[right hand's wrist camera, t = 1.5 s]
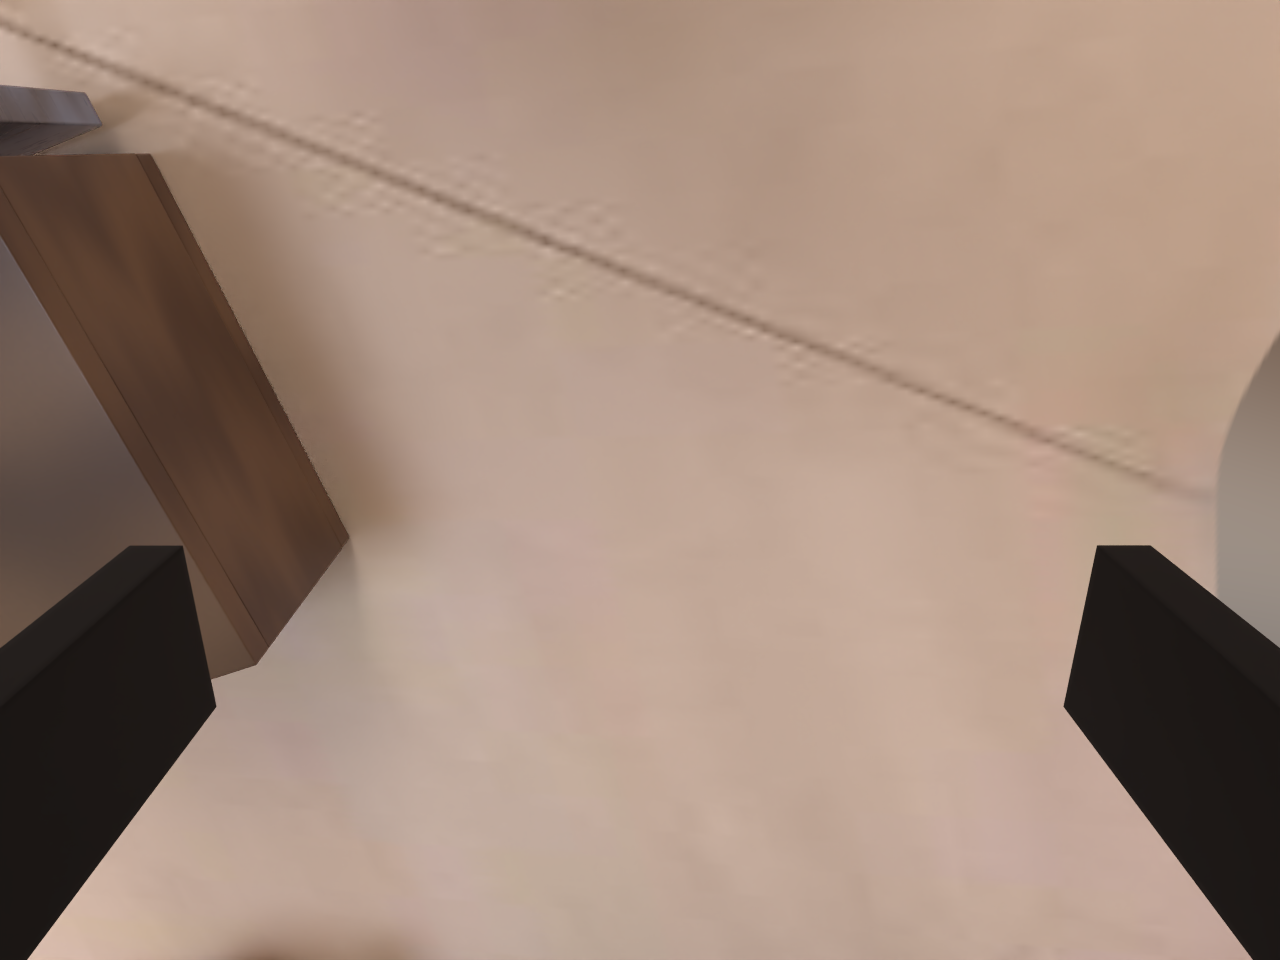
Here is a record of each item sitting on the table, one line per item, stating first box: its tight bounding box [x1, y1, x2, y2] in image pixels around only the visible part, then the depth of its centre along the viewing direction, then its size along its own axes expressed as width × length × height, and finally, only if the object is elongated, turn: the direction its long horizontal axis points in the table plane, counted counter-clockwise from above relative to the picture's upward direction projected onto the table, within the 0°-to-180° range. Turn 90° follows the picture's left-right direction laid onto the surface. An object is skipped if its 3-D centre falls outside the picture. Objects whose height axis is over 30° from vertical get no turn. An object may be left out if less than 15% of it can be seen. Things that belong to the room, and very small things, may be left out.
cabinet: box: [0, 154, 349, 679], centre depth 32 cm, size 17×11×10 cm, turn 19°
